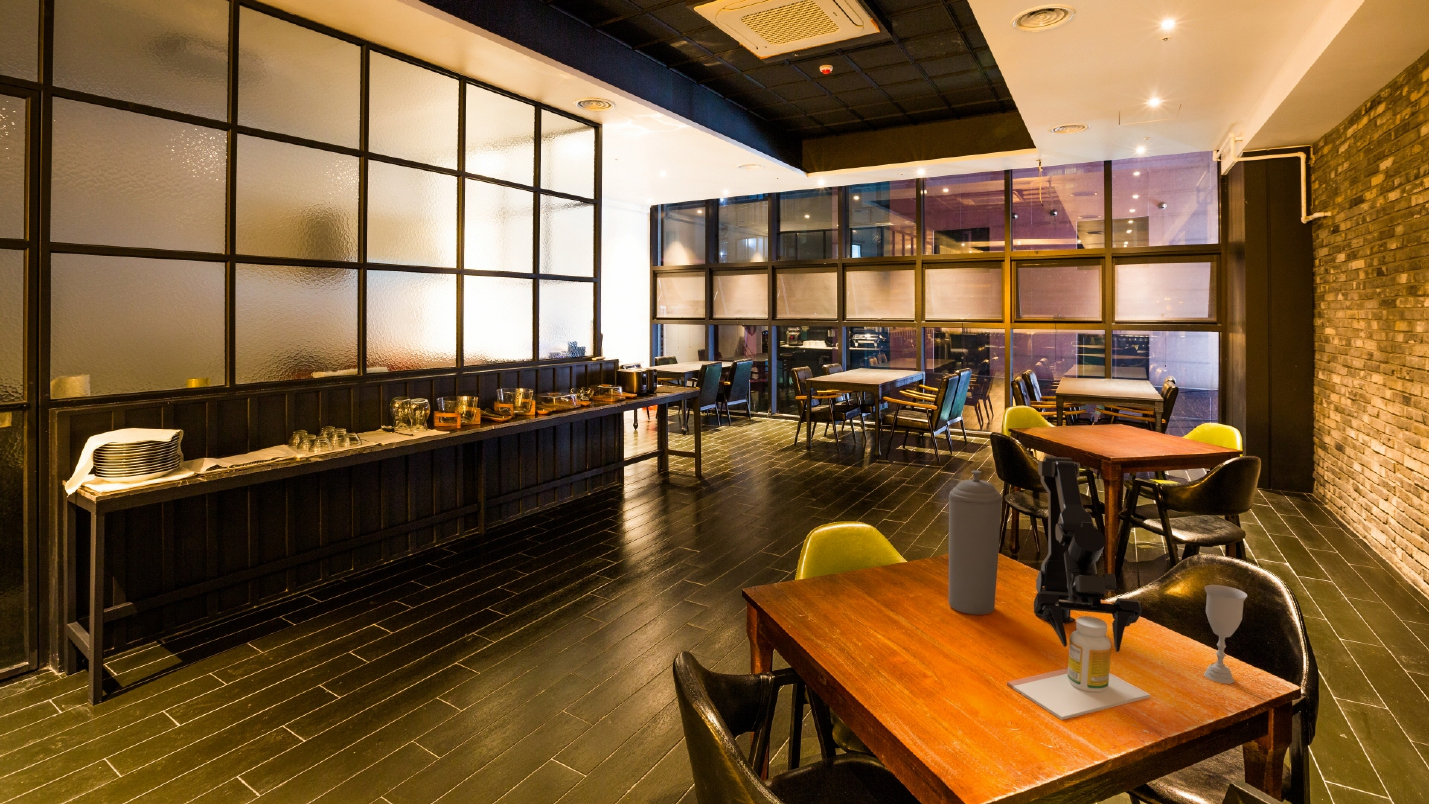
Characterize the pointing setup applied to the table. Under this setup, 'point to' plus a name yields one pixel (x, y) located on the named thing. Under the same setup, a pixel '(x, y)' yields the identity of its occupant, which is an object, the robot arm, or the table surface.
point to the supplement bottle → (1089, 655)
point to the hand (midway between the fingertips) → (1091, 649)
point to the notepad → (1074, 694)
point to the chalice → (1223, 624)
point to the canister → (973, 545)
